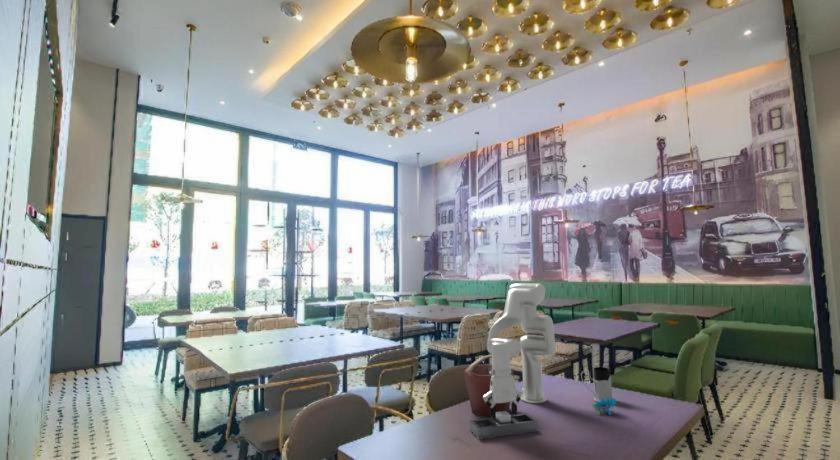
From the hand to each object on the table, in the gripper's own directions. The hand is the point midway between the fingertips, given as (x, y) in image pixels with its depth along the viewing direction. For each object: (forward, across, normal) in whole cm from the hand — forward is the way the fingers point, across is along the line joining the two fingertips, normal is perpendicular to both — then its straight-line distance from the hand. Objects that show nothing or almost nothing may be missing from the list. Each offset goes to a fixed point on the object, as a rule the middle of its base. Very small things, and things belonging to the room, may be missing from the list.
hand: (503, 415), depth 161 cm
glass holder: (+7, +62, +20) cm, 65 cm away
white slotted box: (+6, 0, 0) cm, 6 cm away
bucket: (+6, +5, +22) cm, 24 cm away
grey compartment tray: (+6, 0, 0) cm, 6 cm away
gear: (+7, +52, +4) cm, 53 cm away
